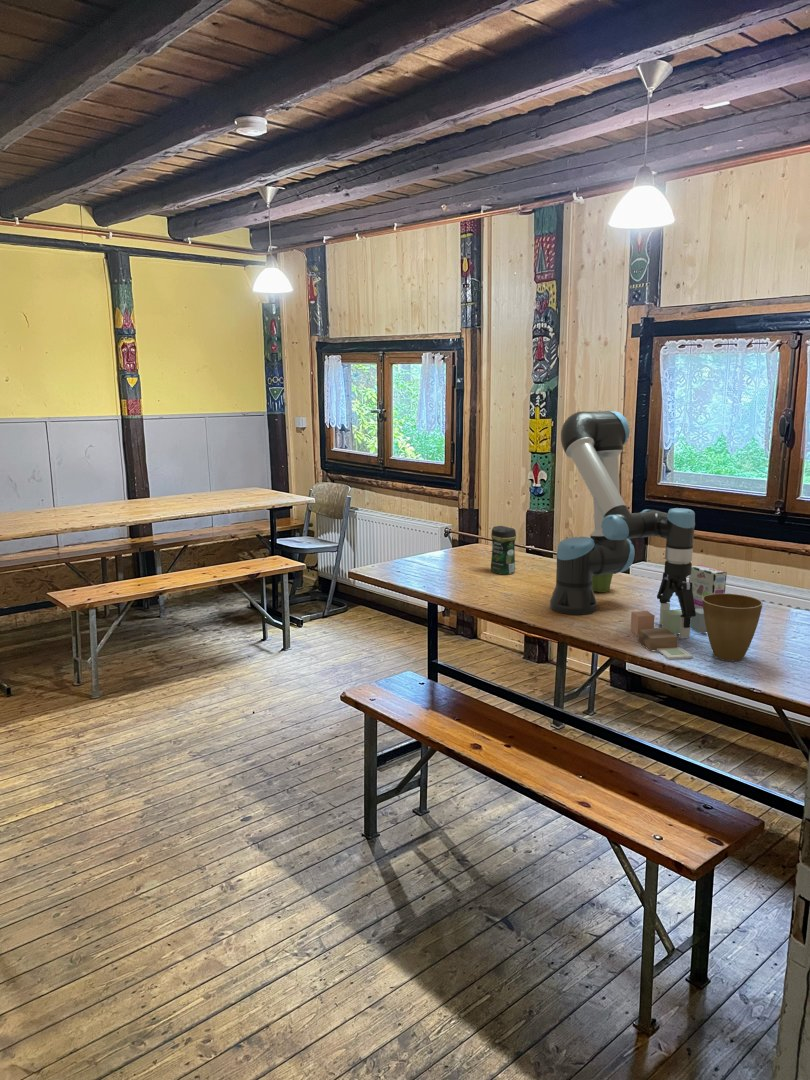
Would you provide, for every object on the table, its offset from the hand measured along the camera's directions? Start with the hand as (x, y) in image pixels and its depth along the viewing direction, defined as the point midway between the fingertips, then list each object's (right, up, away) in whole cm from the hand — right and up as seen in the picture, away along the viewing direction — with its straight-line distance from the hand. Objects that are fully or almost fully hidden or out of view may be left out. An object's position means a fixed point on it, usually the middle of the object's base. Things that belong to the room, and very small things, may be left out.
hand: (673, 630), depth 226 cm
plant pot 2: (+7, -5, -21) cm, 23 cm away
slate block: (+9, 0, +1) cm, 9 cm away
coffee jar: (-42, +14, +73) cm, 86 cm away
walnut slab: (-9, -3, -12) cm, 15 cm away
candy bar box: (+14, +2, +12) cm, 18 cm away
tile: (-7, -4, -19) cm, 21 cm away
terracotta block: (-10, -1, -1) cm, 10 cm away
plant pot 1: (-11, +9, +46) cm, 48 cm away
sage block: (0, 0, 0) cm, 0 cm away
